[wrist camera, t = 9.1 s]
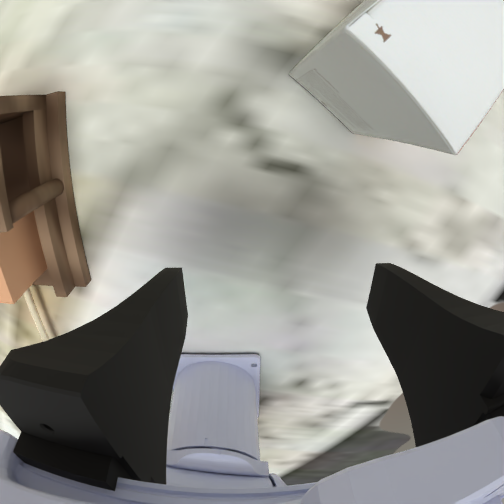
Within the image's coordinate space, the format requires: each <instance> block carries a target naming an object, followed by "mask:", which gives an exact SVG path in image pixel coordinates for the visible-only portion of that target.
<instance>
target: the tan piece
mask: <svg viewBox="0 0 504 504" xmlns="http://www.w3.org/2000/svg"><path fill="white" fill-rule="evenodd" d="M13 227H14V228H12V229H11V230H9V231H8V232H1V233H0V303H8V304H14V303H15V302H16V301H17V300H18V299H19V298H20V297H21V296H22V295H24V297H25V300H26V303H27V305H28V308H29V310H30V313H31V315H32V318H33V320H34V323H35V325H36V327H37V329H38V332H39V334H40V336H41V338H42V341H43V342H44V341H47V340H50V339H49V337H48V335H47V333H46V330H45V328H44V326H43V323H42V321H41V318H40V316H39V313H38V311H37V308H36V306H35V303H34V300H33V297H32V295H31V292H30V289H29V287H30V286H31V285H32V284H33V283H34V282H35V281H36V280H37V279H38V278H39V277H40V276H41V275H42V274H43V272H44V271H45V270H46V269H47V264H46V261H45V257H44V253H43V249H42V245H41V241H40V237H39V233H38V228H37V224H36V219H35V214H34V211H32V212H31V213H29V214H27V215H26V216H24V217H23V218H21V219H19V220H18V221H16V222H15V223H13Z"/></svg>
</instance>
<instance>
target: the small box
mask: <svg viewBox="0 0 504 504" xmlns="http://www.w3.org/2000/svg"><path fill="white" fill-rule="evenodd" d="M289 75H290V76H291V77H292V78H294V79H295V80H296V81H297V82H298V83H300V84H301V85H302V86H303V87H304V88H305V89H306V90H308V91H309V92H310V93H311V94H312V95H313V96H314V97H315V98H316V99H318V100H319V101H320V102H321V103H322V104H323V105H324V106H325V107H326V108H327V109H328V110H329V111H330V112H331V113H333V114H334V115H335V116H336V117H337V118H338V119H339V120H340V121H341V122H342V123H343V124H344V125H345V126H346V127H347V128H348V129H349V130H350V131H351V132H352V133H354V134H360V135H366V136H372V137H377V138H383V139H388V140H393V141H398V142H403V143H407V144H412V145H416V146H420V147H424V148H429V149H433V150H437V151H441V152H445V153H449V154H453V155H457V154H458V153H459V152H460V150H461V149H462V147H463V146H464V145H465V143H466V142H467V141H468V139H469V138H470V137H471V135H472V134H473V133H474V131H475V130H476V129H477V127H478V126H479V125H480V123H481V122H482V120H483V119H484V117H485V116H486V115H487V113H488V112H489V110H490V109H491V107H492V106H493V104H494V103H495V102H496V100H497V99H498V97H499V96H500V94H501V93H502V91H503V90H504V1H503V0H365V1H363V2H362V3H361V4H360V5H359V6H358V7H357V8H356V9H354V10H353V11H352V12H351V13H350V14H349V15H348V16H347V17H346V18H345V19H343V20H342V21H341V22H340V23H339V24H338V25H337V26H336V27H335V28H334V29H333V30H332V31H331V32H330V33H329V34H328V35H326V36H325V37H324V38H323V39H322V40H321V41H320V42H319V43H318V44H317V45H316V46H315V47H314V48H313V49H312V50H311V51H310V52H309V53H308V54H307V55H306V56H305V57H304V58H303V59H302V60H301V61H300V62H299V63H298V64H297V65H296V66H295V67H294V68H293V70H292V71H291V72H290V73H289Z"/></svg>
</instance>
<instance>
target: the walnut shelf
mask: <svg viewBox="0 0 504 504" xmlns="http://www.w3.org/2000/svg"><path fill="white" fill-rule="evenodd" d="M32 211H34V214H35V219H36V224H37V228H38V233H39V237H40V241H41V245H42V249H43V253H44V257H45V261H46V264H47V269H46V270H45V271H44V272H43V274H42V275H41V276H40V277H39V278H38V279H37V280H36V281H35V282H34V283H33V284H32V285H51V286H53V287H54V290H55V294H56V296H57V297H67V296H68V295H69V294H70V292H71V291H72V290H73V289H74V287H75V286H80V287H86V286H87V285H88V283H89V282H90V281H91V278H90V274H89V270H88V266H87V262H86V258H85V253H84V249H83V244H82V239H81V234H80V229H79V224H78V219H77V213H76V207H75V201H74V195H73V188H72V180H71V172H70V164H69V154H68V142H67V128H66V106H65V92H54V93H51V94H47V95H16V96H0V233H1V232H8V231H9V230H11V229H12V228H14V227H13V223H15V222H16V221H18V220H19V219H21V218H23V217H24V216H26V215H27V214H29V213H31V212H32Z"/></svg>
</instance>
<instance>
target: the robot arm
mask: <svg viewBox="0 0 504 504" xmlns="http://www.w3.org/2000/svg"><path fill="white" fill-rule="evenodd" d="M366 308H367V311H368V314H369V318H370V321H371V323H372V326H373V329H374V331H375V333H376V335H377V337H378V339H379V341H380V343H381V344H382V346H383V348H384V350H385V352H386V354H387V356H388V358H389V360H390V362H391V364H392V366H393V368H394V370H395V372H396V374H397V377H398V379H399V382H400V385H401V388H402V391H403V394H404V397H405V400H406V404H407V407H408V411H409V415H410V418H411V423H412V428H413V433H414V438H415V443H416V448H413V449H409V450H406V451H402V452H399V453H395V454H392V455H388V456H384V457H380V458H377V459H374V460H371V461H368V462H365V463H361V464H358V465H355V466H351V467H348V468H346V469H344V470H341V471H339V472H337V473H335V474H333V475H330V476H328V477H326V478H323V479H321V480H320V481H319V482H315V483H308V484H299V485H290V486H286V484H285V483H284V482H283V481H282V479H281V478H280V477H279V476H278V475H276V474H269V469H268V462H266V461H260V449H259V435H258V421H257V418H258V417H259V391H260V356H259V355H257V354H238V355H196V354H181V352H182V348H183V344H184V340H185V335H186V327H187V318H188V312H187V305H186V297H185V289H184V281H183V273H182V268H165V269H163V270H162V271H161V272H159V273H158V274H157V275H156V276H154V277H153V278H152V279H151V280H150V281H148V282H147V283H146V284H145V285H144V286H142V287H141V288H140V289H139V290H137V291H136V292H135V293H134V294H132V295H131V296H130V297H128V298H127V299H125V300H124V301H123V302H121V303H120V304H119V305H117V306H116V307H114V308H113V309H111V310H110V311H108V312H107V313H105V314H103V315H102V316H100V317H98V318H97V319H95V320H93V321H91V322H89V323H87V324H85V325H83V326H81V327H79V328H77V329H75V330H73V331H70V332H68V333H66V334H63V335H61V336H58V337H55V338H53V339H50V340H47V341H44V342H41V343H37V344H34V345H30V346H26V347H22V348H18V349H14V350H11V351H10V352H9V354H8V355H7V357H6V358H5V360H4V361H3V363H2V364H1V366H0V405H1V407H2V408H3V409H4V411H5V412H6V413H7V414H8V416H9V417H10V418H11V420H12V421H13V422H14V423H15V424H16V426H17V427H18V428H19V429H20V430H21V434H20V437H19V439H17V438H15V437H14V436H12V435H11V434H9V433H7V432H5V431H3V430H0V504H503V503H502V501H501V499H503V498H504V312H500V311H497V310H493V309H490V308H487V307H484V306H481V305H478V304H475V303H473V302H470V301H468V300H465V299H463V298H460V297H458V296H456V295H454V294H452V293H449V292H447V291H445V290H443V289H441V288H439V287H437V286H435V285H433V284H432V283H430V282H428V281H426V280H424V279H422V278H420V277H418V276H416V275H415V274H413V273H411V272H409V271H407V270H405V269H403V268H401V267H398V266H396V265H394V264H391V263H380V264H376V266H375V271H374V276H373V280H372V285H371V290H370V294H369V299H368V303H367V307H366ZM253 363H256V364H253ZM172 389H173V392H174V393H173V399H172V404H171V410H170V403H171V394H172ZM169 412H170V416H169Z"/></svg>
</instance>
